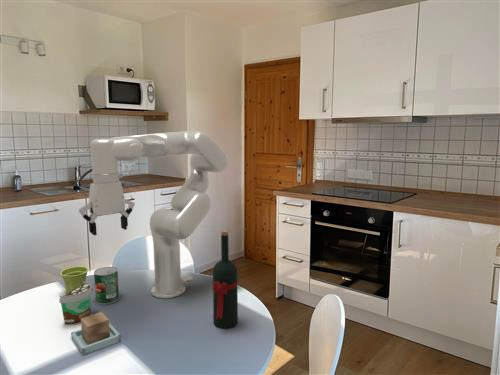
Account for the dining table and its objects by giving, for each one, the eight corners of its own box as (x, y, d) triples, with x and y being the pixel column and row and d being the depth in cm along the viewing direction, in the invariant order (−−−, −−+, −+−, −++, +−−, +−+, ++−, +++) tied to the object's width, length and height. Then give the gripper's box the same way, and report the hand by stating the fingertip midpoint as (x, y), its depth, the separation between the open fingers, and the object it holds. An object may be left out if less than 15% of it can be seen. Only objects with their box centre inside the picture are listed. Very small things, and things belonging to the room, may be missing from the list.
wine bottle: (206, 330, 116) (204, 236, 111) (218, 314, 126) (217, 227, 121) (231, 334, 114) (230, 238, 109) (241, 318, 124) (240, 228, 119)
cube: (102, 330, 116) (101, 312, 114) (110, 338, 111) (108, 319, 110) (82, 337, 112) (80, 318, 111) (88, 346, 107) (87, 326, 106)
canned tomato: (90, 302, 135) (88, 273, 133) (106, 293, 142) (104, 265, 140) (109, 306, 132) (107, 276, 130) (123, 296, 139) (122, 268, 138)
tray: (107, 326, 119) (107, 320, 118) (120, 341, 111) (120, 335, 110) (71, 338, 112) (71, 332, 112) (82, 355, 104) (82, 348, 104)
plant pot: (81, 285, 149) (79, 264, 148) (95, 291, 144) (93, 269, 142) (57, 294, 142) (55, 271, 140) (71, 300, 136) (69, 278, 135)
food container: (79, 328, 118) (76, 298, 116) (61, 326, 119) (58, 296, 117) (102, 309, 130) (100, 282, 128) (85, 308, 131) (83, 280, 129)
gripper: (127, 175, 128) (130, 224, 130) (73, 179, 117) (77, 234, 119) (137, 177, 122) (139, 229, 125) (80, 182, 111) (84, 239, 114)
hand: (109, 231), depth 122 cm, fingers open, 9 cm apart
